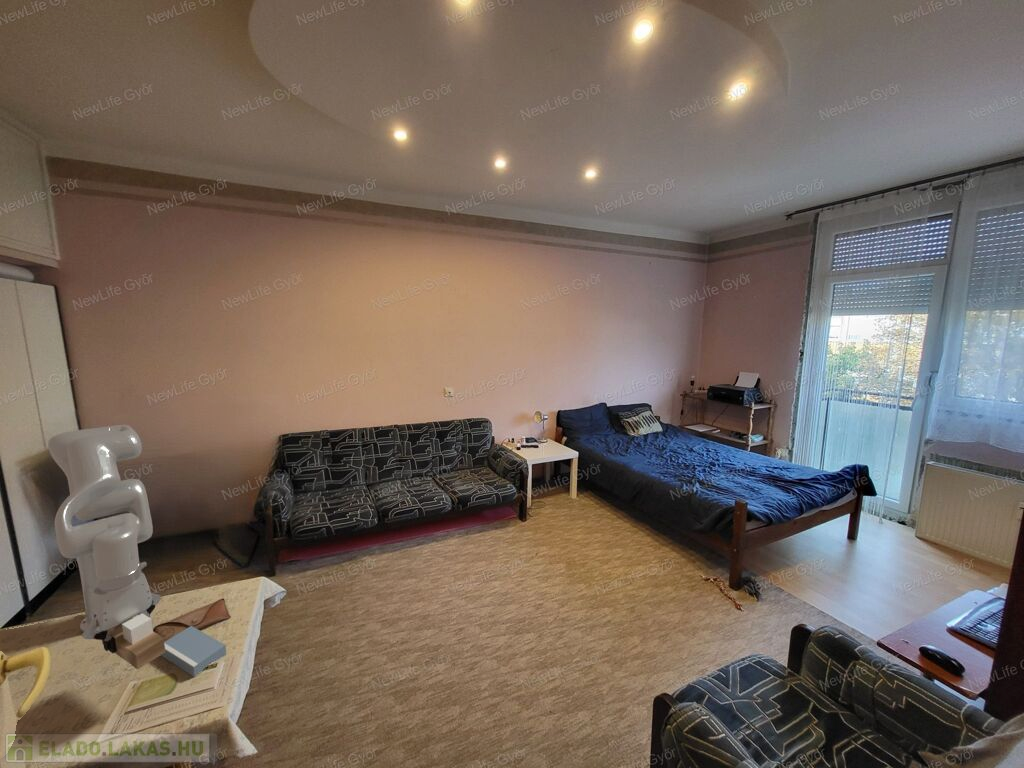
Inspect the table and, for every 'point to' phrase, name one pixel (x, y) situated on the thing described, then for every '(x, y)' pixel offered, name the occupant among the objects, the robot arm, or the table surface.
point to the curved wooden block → (138, 647)
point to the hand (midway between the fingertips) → (127, 640)
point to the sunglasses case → (194, 620)
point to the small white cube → (137, 628)
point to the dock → (193, 650)
